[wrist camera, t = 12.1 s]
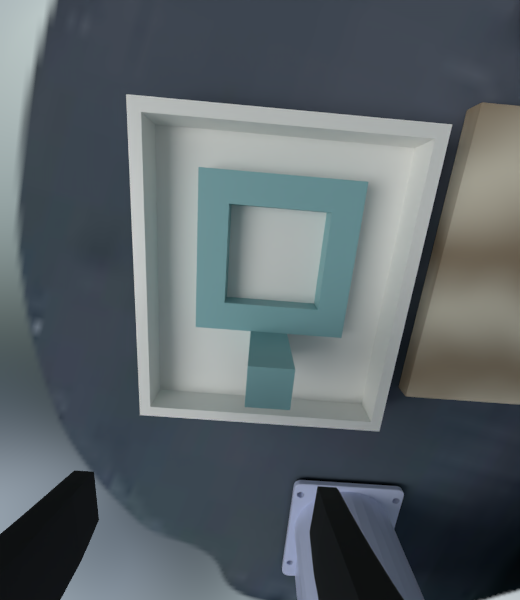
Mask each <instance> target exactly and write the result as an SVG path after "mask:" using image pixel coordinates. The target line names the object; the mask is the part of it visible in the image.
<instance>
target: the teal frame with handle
mask: <svg viewBox="0 0 520 600" xmlns="http://www.w3.org/2000/svg"><path fill="white" fill-rule="evenodd" d="M367 188H368V182H366V181H354V180H343V179H331V178H320V177H308V176H297V175H285V174H274V173H262V172H251V171H239V170H228V169H216V168H205V167H198V222H197V277H196V327H202V328H215V329H228V330H242V331H251V333H250V345H249V356H248V368H247V381H246V394H245V407H251V408H265V409H280V410H290V407H291V399H292V392H293V384H294V376H295V366H294V362H293V357H292V353H291V349H290V344H289V340H288V336H287V334H295V335H308V336H322V337H335V338H342V332H343V326H344V320H345V314H346V309H347V303H348V297H349V291H350V286H351V280H352V274H353V268H354V263H355V257H356V251H357V245H358V240H359V234H360V228H361V222H362V216H363V211H364V205H365V199H366V193H367ZM232 205H241V206H253V207H265V208H277V209H288V210H300V211H312V212H324V213H326V221H325V228H324V235H323V242H322V249H321V257H320V264H319V271H318V278H317V285H316V293H315V300H314V303H301V302H288V301H275V300H262V299H249V298H236V297H227V286H228V266H229V246H230V226H231V206H232Z"/></svg>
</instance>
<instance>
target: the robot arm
mask: <svg viewBox="0 0 520 600" xmlns="http://www.w3.org/2000/svg"><path fill="white" fill-rule="evenodd" d="M299 492H301V493H299ZM403 497H404V493H403V491H402V489H401V488H400V487H398V486H388V485H373V484H357V483H342V482H327V481H311V480H298V481H296V482H295V483H294V487H293V494H292V501H291V508H290V515H289V522H288V528H287V535H286V542H285V549H284V556H283V563H282V572H283V573H284V574H285V575H290V576H295V582H296V592H297V600H424V598H423V595H422V593H421V591H420V588H419V586H418V584H417V581H416V579H415V577H414V574H413V572H412V570H411V567H410V565H409V563H408V560H407V558H406V556H405V553H404V551H403V549H402V546H401V544H400V542H399V539H398V537H397V535H396V532H395V530H394V528H395V525H396V521H397V518H398V514H399V511H400V507H401V504H402V500H403ZM98 520H99V518H98V508H97V498H96V489H95V479H94V472H88V471H74V472H72V473H71V474H70V475H69V476H68V477H66V478H65V479H64V480H63V481H62V482H61V483H59V484H58V485H57V486H56V487H55V488H54V489H53V490H51V491H50V492H49V493H48V494H47V495H46V496H44V497H43V498H42V499H41V500H40V501H39V502H38V503H36V504H35V505H34V506H33V507H32V508H31V509H29V511H27V512H26V513H25V514H24V515H22V516H21V517H20V518H19V519H18V520H17V521H15V522H14V523H13V524H12V525H11V526H10V527H8V528H7V529H6V530H5V531H3V532H2V533H1V534H0V600H60V599H61V597H62V596H63V594H64V592H65V590H66V588H67V586H68V584H69V582H70V581H71V579H72V577H73V575H74V573H75V571H76V569H77V567H78V566H79V564H80V562H81V560H82V558H83V555H84V553H85V551H86V549H87V546H88V544H89V542H90V539H91V537H92V534H93V532H94V530H95V527H96V525H97V522H98Z"/></svg>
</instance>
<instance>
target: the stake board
mask: <svg viewBox="0 0 520 600" xmlns="http://www.w3.org/2000/svg"><path fill="white" fill-rule="evenodd" d="M399 389H400V390H401V391H402V392H403V393H404V395H405V396H407V397H421V398H435V399H449V400H463V401H477V402H491V403H505V404H519V405H520V106H514V105H503V104H493V103H480V104H478V105H476V106H474V107H472V108H470V109H468V110H467V112H466V116H465V120H464V125H463V129H462V133H461V137H460V141H459V145H458V149H457V153H456V157H455V161H454V165H453V169H452V173H451V177H450V181H449V185H448V189H447V193H446V197H445V201H444V205H443V209H442V213H441V217H440V221H439V225H438V230H437V234H436V238H435V242H434V246H433V250H432V254H431V258H430V262H429V266H428V270H427V274H426V278H425V282H424V286H423V290H422V294H421V298H420V302H419V306H418V310H417V314H416V318H415V322H414V326H413V330H412V334H411V339H410V343H409V347H408V351H407V355H406V359H405V363H404V367H403V371H402V375H401V379H400V383H399Z"/></svg>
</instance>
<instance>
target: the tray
mask: <svg viewBox="0 0 520 600" xmlns="http://www.w3.org/2000/svg"><path fill="white" fill-rule="evenodd" d="M126 102H127V125H128V148H129V171H130V194H131V217H132V240H133V263H134V286H135V309H136V332H137V355H138V378H139V401H140V415H148V416H162V417H177V418H191V419H206V420H220V421H235V422H250V423H264V424H279V425H293V426H308V427H322V428H337V429H351V430H366V431H380V426H381V422H382V418H383V414H384V410H385V405H386V401H387V397H388V393H389V389H390V384H391V380H392V376H393V372H394V368H395V363H396V359H397V355H398V351H399V347H400V342H401V338H402V334H403V330H404V326H405V321H406V317H407V313H408V309H409V305H410V300H411V296H412V292H413V288H414V284H415V279H416V275H417V271H418V267H419V263H420V258H421V254H422V250H423V246H424V242H425V237H426V233H427V229H428V225H429V220H430V216H431V212H432V208H433V204H434V199H435V195H436V191H437V187H438V183H439V178H440V174H441V170H442V166H443V162H444V157H445V153H446V149H447V145H448V141H449V136H450V132H451V128H452V124H441V123H430V122H420V121H409V120H398V119H387V118H376V117H366V116H355V115H344V114H333V113H322V112H312V111H301V110H290V109H279V108H268V107H258V106H247V105H236V104H225V103H214V102H204V101H193V100H182V99H171V98H160V97H150V96H139V95H128V94H126ZM198 167H205V168H216V169H228V170H239V171H251V172H262V173H274V174H285V175H297V176H308V177H320V178H331V179H343V180H354V181H366V182H368V188H367V193H366V199H365V205H364V211H363V216H362V222H361V228H360V234H359V240H358V245H357V251H356V257H355V263H354V268H353V274H352V280H351V286H350V291H349V297H348V303H347V309H346V314H345V320H344V326H343V332H342V338H335V337H322V336H308V335H295V334H287V336H288V340H289V344H290V349H291V353H292V357H293V362H294V366H295V376H294V384H293V392H292V399H291V407H290V410H280V409H265V408H251V407H245V394H246V381H247V368H248V356H249V345H250V333H251V331H242V330H228V329H215V328H202V327H196V277H197V222H198ZM325 221H326V213H324V212H312V211H300V210H288V209H277V208H265V207H253V206H241V205H232V206H231V226H230V246H229V266H228V286H227V297H236V298H249V299H262V300H275V301H288V302H301V303H314V300H315V293H316V285H317V278H318V271H319V264H320V257H321V249H322V242H323V235H324V228H325Z"/></svg>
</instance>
